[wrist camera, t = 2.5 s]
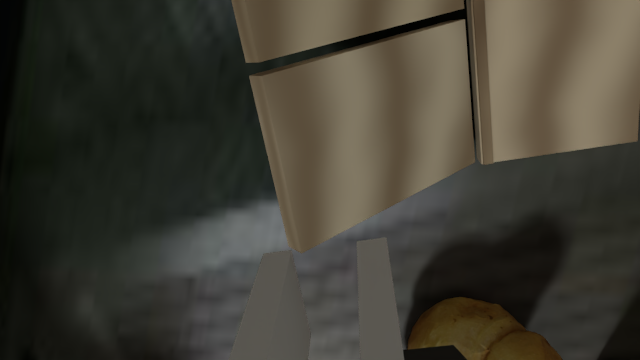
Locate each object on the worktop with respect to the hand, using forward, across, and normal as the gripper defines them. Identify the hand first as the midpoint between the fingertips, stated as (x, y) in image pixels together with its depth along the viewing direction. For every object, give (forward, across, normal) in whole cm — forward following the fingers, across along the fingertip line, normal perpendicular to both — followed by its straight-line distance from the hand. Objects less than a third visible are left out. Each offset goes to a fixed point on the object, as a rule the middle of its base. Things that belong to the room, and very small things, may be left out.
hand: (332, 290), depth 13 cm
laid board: (+20, +13, +5) cm, 25 cm away
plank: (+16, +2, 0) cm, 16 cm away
